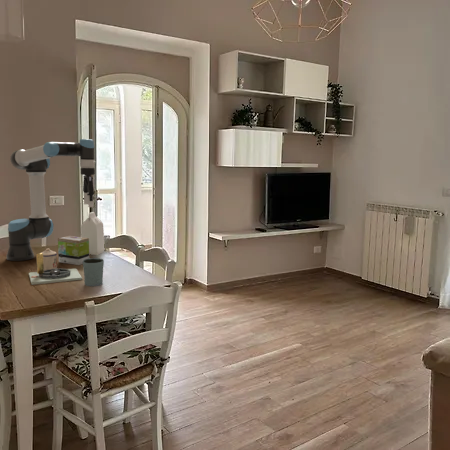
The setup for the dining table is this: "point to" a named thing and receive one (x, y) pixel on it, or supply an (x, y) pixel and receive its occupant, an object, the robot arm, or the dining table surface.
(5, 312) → the dining table surface
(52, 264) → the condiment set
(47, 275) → the handwheel
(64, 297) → the dining table surface
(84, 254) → the tea box
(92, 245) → the milk
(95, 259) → the grey blue cup
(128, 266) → the dining table surface
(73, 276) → the board
